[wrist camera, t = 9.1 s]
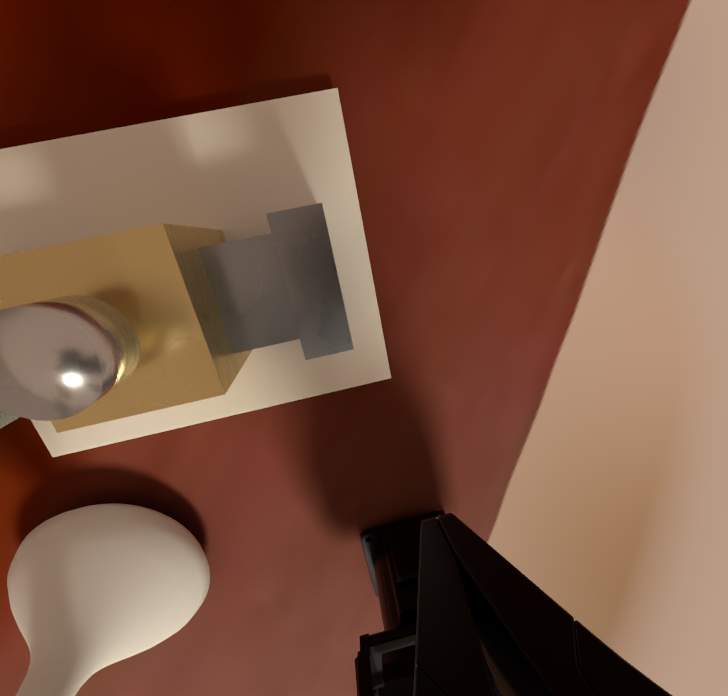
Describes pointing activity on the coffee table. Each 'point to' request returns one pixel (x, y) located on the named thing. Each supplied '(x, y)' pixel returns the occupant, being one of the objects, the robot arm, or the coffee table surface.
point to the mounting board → (206, 210)
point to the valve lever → (63, 355)
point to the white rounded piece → (101, 591)
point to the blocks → (192, 302)
